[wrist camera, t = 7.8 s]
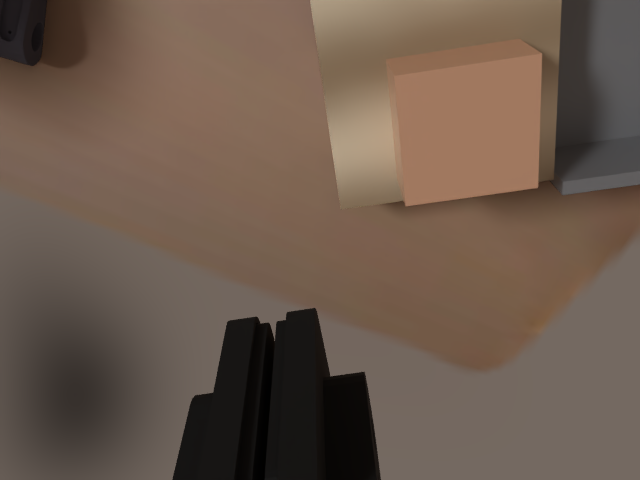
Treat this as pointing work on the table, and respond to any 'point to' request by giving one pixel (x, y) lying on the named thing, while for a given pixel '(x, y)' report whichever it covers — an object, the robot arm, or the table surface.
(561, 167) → the bus tub
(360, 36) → the board
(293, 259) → the table surface
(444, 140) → the tile
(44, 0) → the bracket
